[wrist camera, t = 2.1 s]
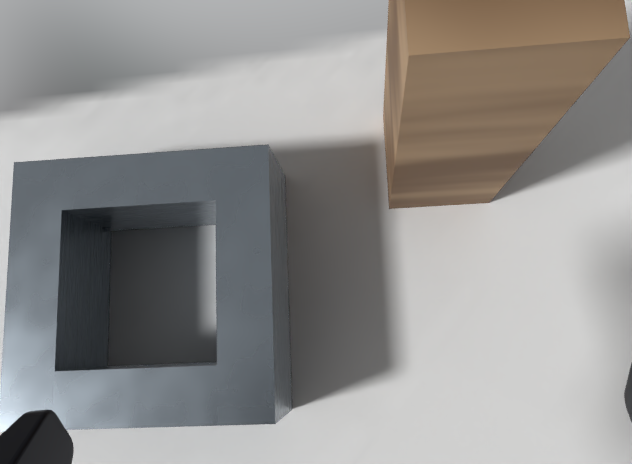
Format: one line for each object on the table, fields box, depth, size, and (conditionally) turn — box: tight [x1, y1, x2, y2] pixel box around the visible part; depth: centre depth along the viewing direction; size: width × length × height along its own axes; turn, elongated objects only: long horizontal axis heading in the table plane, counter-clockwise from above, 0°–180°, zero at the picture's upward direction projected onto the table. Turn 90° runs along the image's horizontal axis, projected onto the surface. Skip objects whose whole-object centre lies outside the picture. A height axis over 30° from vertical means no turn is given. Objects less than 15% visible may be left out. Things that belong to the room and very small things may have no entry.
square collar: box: [0, 145, 292, 432], centre depth 22 cm, size 9×9×4 cm
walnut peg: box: [383, 0, 630, 209], centre depth 17 cm, size 4×4×13 cm
